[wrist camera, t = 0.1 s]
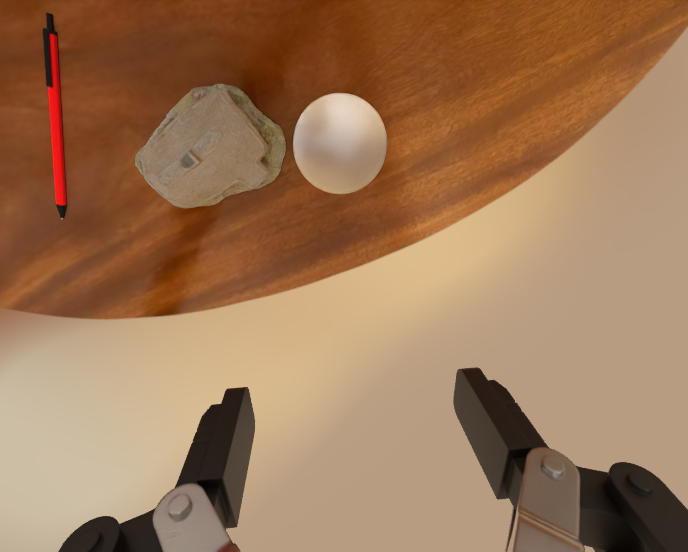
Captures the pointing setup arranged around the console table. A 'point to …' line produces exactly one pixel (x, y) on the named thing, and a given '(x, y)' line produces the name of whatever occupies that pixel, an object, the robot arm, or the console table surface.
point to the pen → (55, 113)
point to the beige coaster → (339, 143)
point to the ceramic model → (211, 148)
